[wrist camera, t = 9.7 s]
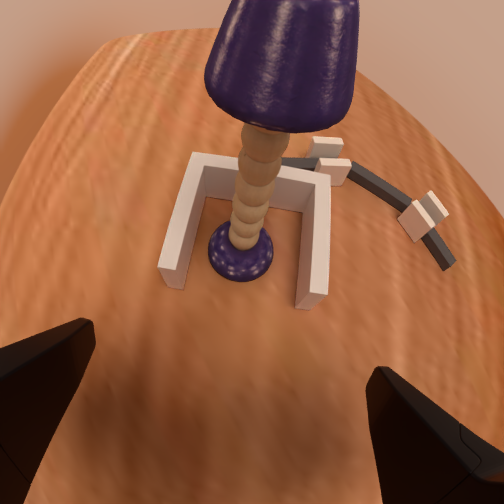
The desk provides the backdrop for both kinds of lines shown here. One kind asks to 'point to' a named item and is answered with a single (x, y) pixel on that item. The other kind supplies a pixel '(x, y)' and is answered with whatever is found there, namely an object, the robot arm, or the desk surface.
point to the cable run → (388, 195)
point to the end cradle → (284, 197)
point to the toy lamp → (275, 104)
